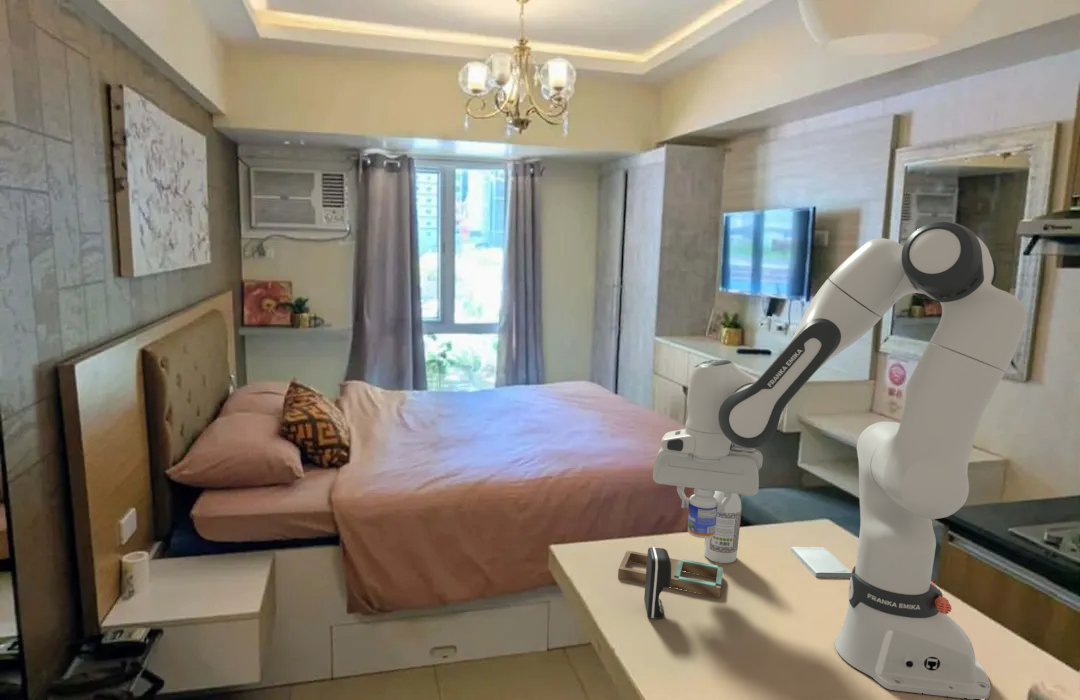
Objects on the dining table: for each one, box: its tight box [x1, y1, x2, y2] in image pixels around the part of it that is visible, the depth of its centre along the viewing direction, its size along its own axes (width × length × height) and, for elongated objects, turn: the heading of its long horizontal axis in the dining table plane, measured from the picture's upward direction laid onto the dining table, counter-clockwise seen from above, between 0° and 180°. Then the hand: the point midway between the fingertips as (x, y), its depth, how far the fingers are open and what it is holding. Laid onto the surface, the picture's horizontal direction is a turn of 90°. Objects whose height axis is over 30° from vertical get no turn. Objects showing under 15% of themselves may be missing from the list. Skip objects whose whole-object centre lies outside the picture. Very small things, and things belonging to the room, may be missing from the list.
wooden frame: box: [617, 549, 724, 599], centre depth 139 cm, size 20×9×2 cm, turn 72°
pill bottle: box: [687, 488, 717, 539], centre depth 135 cm, size 5×5×10 cm
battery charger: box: [643, 546, 671, 619], centre depth 125 cm, size 7×4×11 cm, turn 177°
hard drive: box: [789, 546, 852, 579], centre depth 149 cm, size 2×8×12 cm
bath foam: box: [703, 491, 742, 564], centre depth 148 cm, size 7×7×20 cm
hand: (702, 509), depth 135 cm, fingers closed on pill bottle, 5 cm apart
